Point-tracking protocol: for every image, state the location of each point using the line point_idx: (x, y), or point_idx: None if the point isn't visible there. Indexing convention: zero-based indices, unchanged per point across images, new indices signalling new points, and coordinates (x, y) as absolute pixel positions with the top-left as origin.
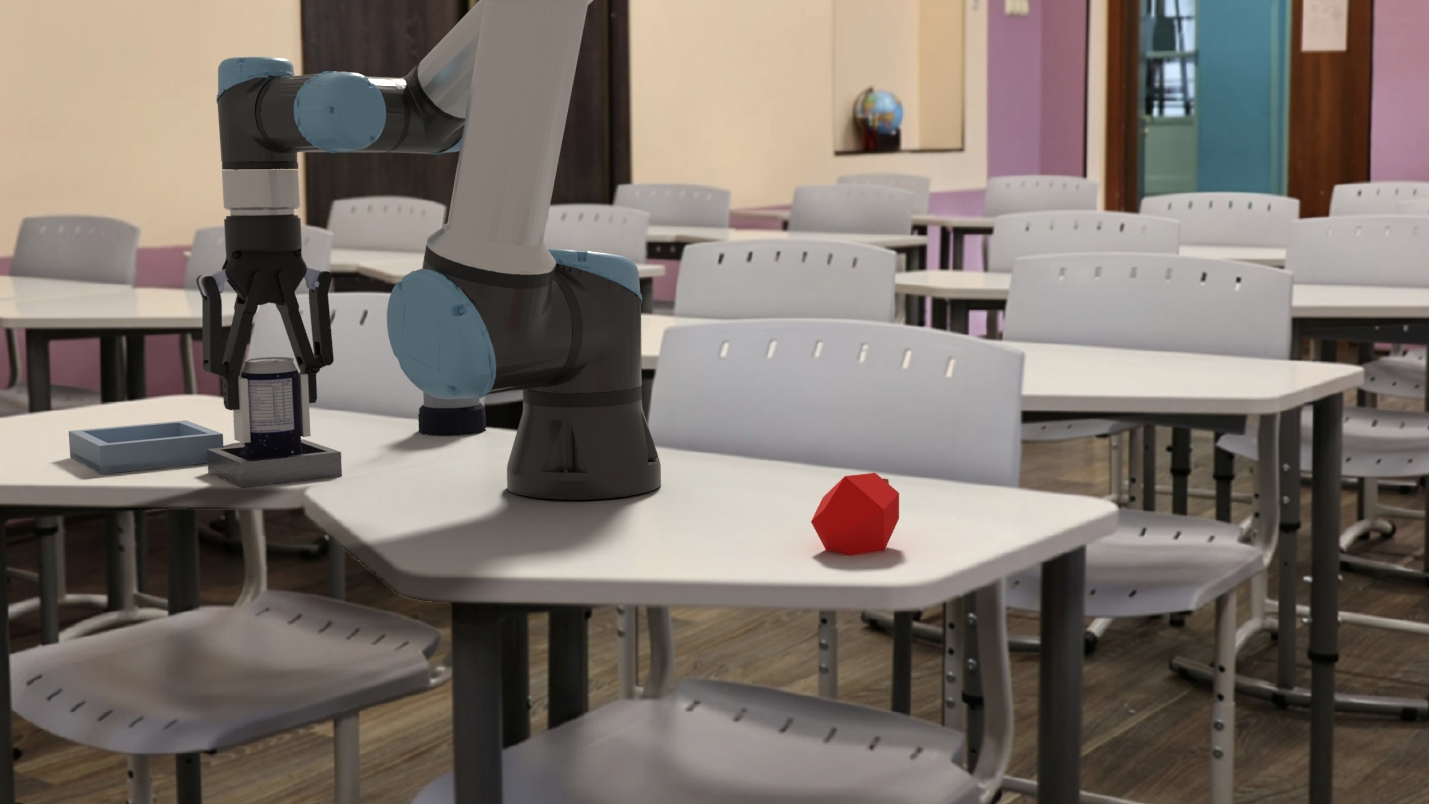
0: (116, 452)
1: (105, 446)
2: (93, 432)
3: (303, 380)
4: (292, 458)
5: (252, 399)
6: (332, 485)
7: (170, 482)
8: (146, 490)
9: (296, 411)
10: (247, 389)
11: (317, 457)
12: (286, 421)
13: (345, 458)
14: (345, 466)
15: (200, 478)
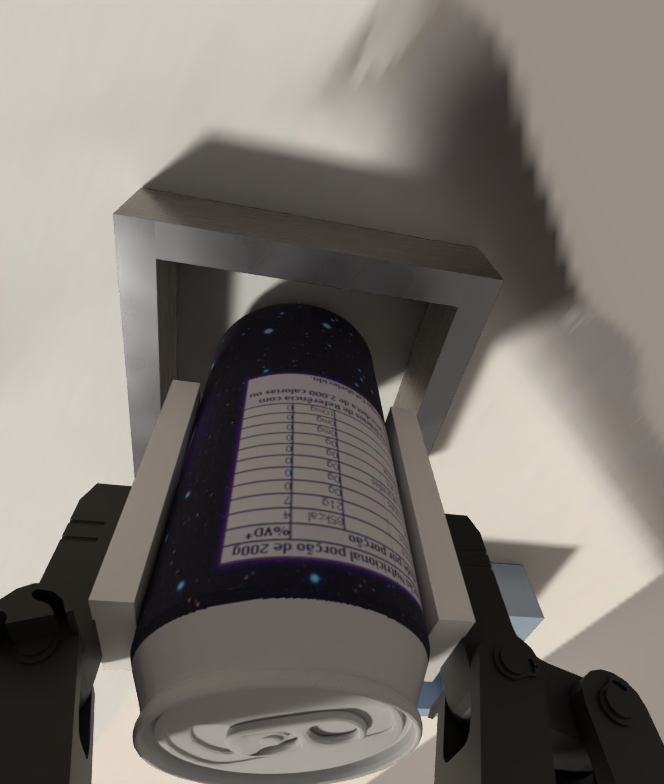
0: (507, 599)
1: (532, 614)
2: (428, 704)
3: (128, 569)
4: (317, 245)
5: (404, 522)
6: (248, 25)
7: (517, 434)
8: (621, 390)
9: (220, 433)
10: (431, 568)
11: (218, 226)
12: (284, 395)
13: (36, 430)
14: (72, 333)
15: (445, 433)
